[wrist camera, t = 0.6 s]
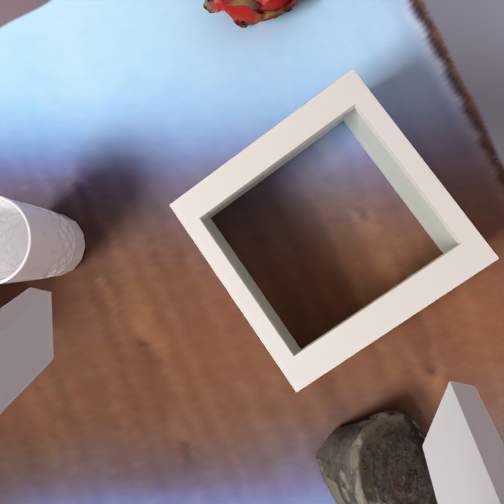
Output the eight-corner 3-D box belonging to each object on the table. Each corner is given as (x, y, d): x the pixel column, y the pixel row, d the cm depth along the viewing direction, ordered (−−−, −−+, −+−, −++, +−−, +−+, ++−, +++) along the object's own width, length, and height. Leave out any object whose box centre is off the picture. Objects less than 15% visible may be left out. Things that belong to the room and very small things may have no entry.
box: (464, 259, 41) (499, 258, 33) (300, 369, 43) (296, 392, 35) (346, 104, 43) (352, 68, 35) (195, 215, 45) (169, 205, 37)
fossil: (468, 457, 40) (471, 561, 32) (402, 496, 45) (389, 596, 37) (374, 381, 41) (352, 462, 33) (319, 427, 46) (288, 508, 38)
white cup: (23, 278, 48) (-54, 282, 38) (27, 208, 48) (-48, 193, 38) (88, 282, 47) (27, 287, 37) (93, 210, 47) (33, 195, 37)
